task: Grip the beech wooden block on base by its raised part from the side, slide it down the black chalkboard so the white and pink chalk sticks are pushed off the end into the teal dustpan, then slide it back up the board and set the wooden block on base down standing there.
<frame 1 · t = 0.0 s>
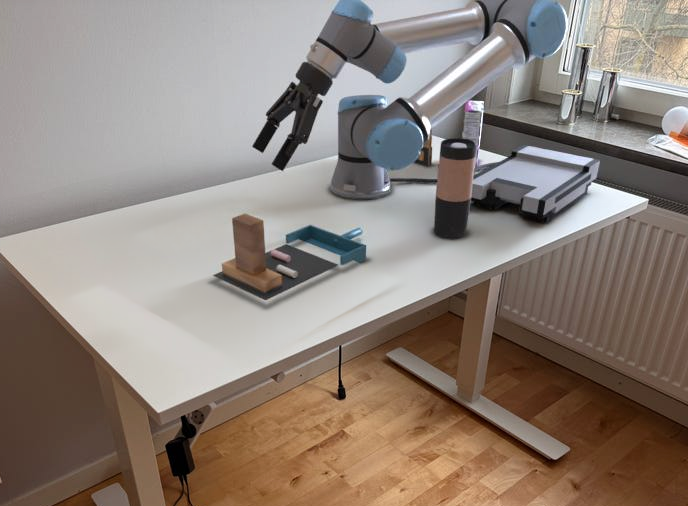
hand: (266, 158, 153), 15 cm above the table, tool tilted 35°, fingers open, 13 cm apart
chalkboard: (277, 276, 139), on the table
dustpan: (324, 254, 148), on the table
chalk 2: (280, 255, 142), point 2 cm above the table, touching chalkboard
chalk 1: (287, 271, 136), point 2 cm above the table, tilted 8°, touching chalkboard
game console: (528, 201, 175), on the table
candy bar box: (468, 166, 197), on the table
travel mug: (449, 233, 158), on the table
wooden block on base: (251, 280, 134), point 1 cm above the table, touching chalkboard
ammunition clip: (415, 162, 200), on the table
rabbit figure: (366, 165, 198), on the table
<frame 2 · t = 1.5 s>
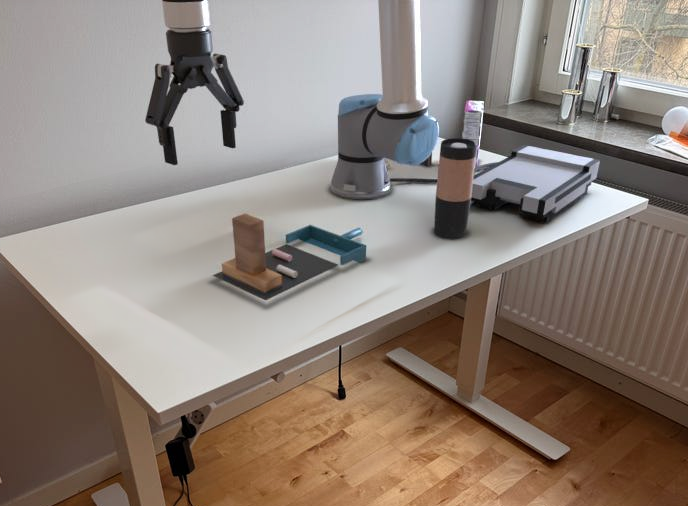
hand: (201, 155, 129), 23 cm above the table, tool pointing down, fingers open, 13 cm apart
chalk 2: (281, 255, 142), point 2 cm above the table, tilted 34°, touching chalkboard
everything else where it was.
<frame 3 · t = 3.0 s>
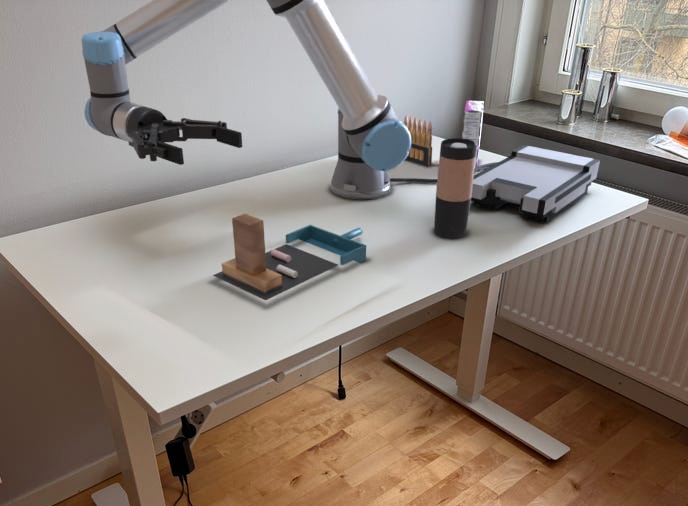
hand: (212, 148, 126), 25 cm above the table, tool horizontal, fingers open, 13 cm apart
chalk 2: (280, 255, 142), point 2 cm above the table, tilted 6°, touching chalkboard
everything else where it was.
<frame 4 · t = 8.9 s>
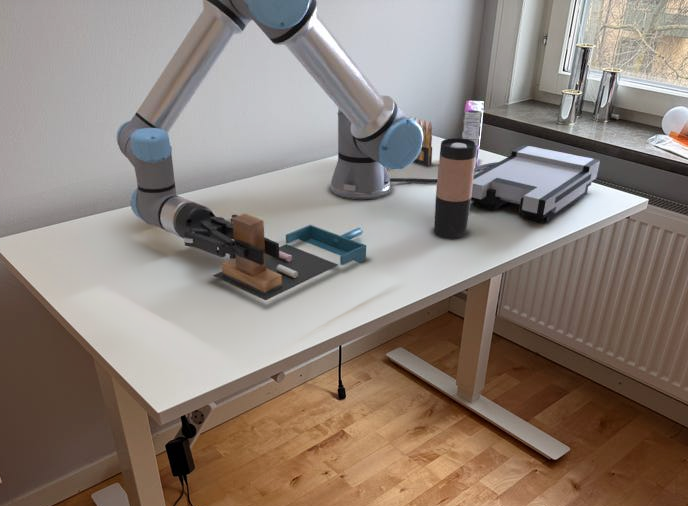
hand: (269, 254, 127), 9 cm above the table, tool horizontal, fingers closed on wooden block on base, 3 cm apart
chalk 2: (281, 255, 142), point 2 cm above the table, tilted 26°, touching chalkboard
wooden block on base: (251, 280, 134), point 1 cm above the table, touching chalkboard, gripper
everything else where it was.
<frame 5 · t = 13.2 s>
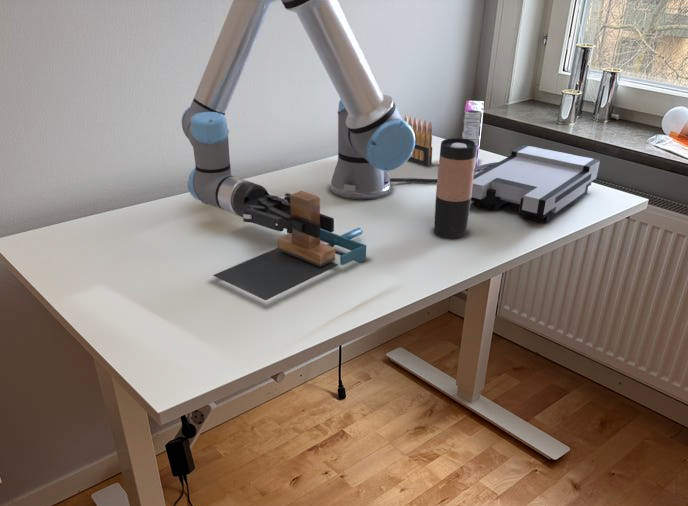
hand: (325, 228, 136), 9 cm above the table, tool horizontal, fingers closed on wooden block on base, 3 cm apart
chalk 2: (320, 243, 150), point 1 cm above the table, tilted 94°, touching dustpan
chalk 1: (342, 250, 147), point 1 cm above the table, tilted 80°, touching dustpan
wooden block on base: (306, 254, 143), point 2 cm above the table, touching gripper
everything else where it was.
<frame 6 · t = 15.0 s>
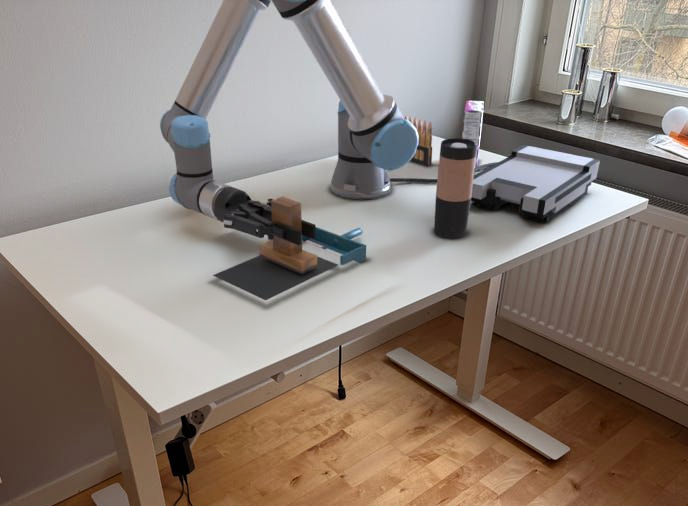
hand: (307, 234, 133), 9 cm above the table, tool horizontal, fingers closed on wooden block on base, 3 cm apart
chalk 2: (314, 246, 149), point 1 cm above the table, tilted 128°, touching dustpan
chalk 1: (334, 254, 145), point 1 cm above the table, tilted 66°, touching dustpan
wooden block on base: (288, 261, 140), point 2 cm above the table, touching gripper
everything else where it was.
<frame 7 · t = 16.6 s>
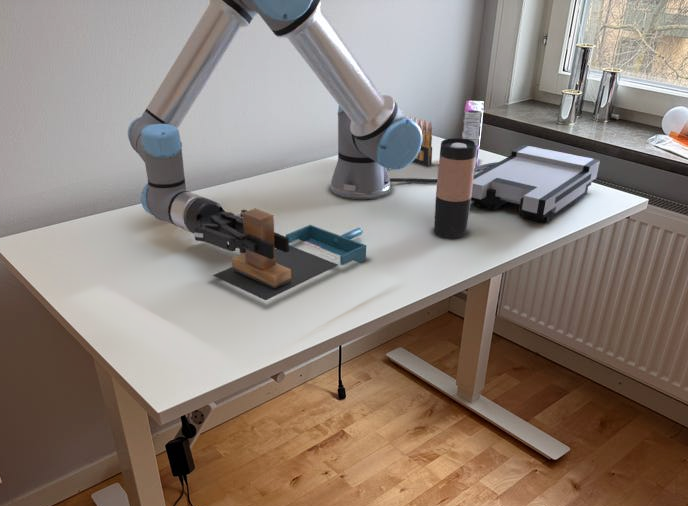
hand: (279, 248, 129), 9 cm above the table, tool horizontal, fingers closed on wooden block on base, 3 cm apart
chalk 2: (312, 247, 148), point 1 cm above the table, tilted 71°, touching dustpan
chalk 1: (328, 257, 144), point 1 cm above the table, tilted 95°, touching dustpan
wooden block on base: (261, 275, 136), point 2 cm above the table, touching gripper
everything else where it was.
when the fingers open (9 cm above the table, at t = 16.9 s): wooden block on base stays where it is, resting on chalkboard.
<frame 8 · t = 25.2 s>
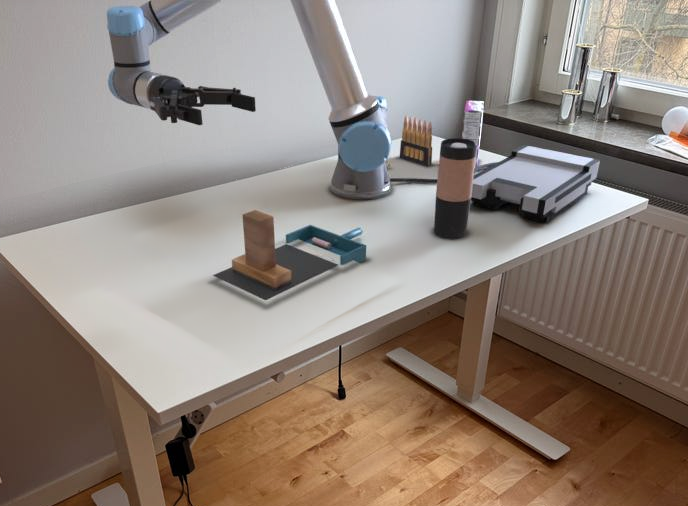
hand: (228, 111, 137), 28 cm above the table, tool horizontal, fingers open, 13 cm apart
chalk 2: (321, 243, 150), point 1 cm above the table, tilted 59°, touching dustpan
chalk 1: (324, 259, 143), point 1 cm above the table, tilted 178°, touching dustpan
wooden block on base: (261, 276, 136), point 1 cm above the table, touching chalkboard
everything else where it was.
at the end: chalk 1 inside the target area in the dustpan (4.4 cm from its centre), point 1.0 cm above the dustpan's base; chalk 2 inside the target area in the dustpan (3.7 cm from its centre), point 1.0 cm above the dustpan's base; wooden block on base tilted 0° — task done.
